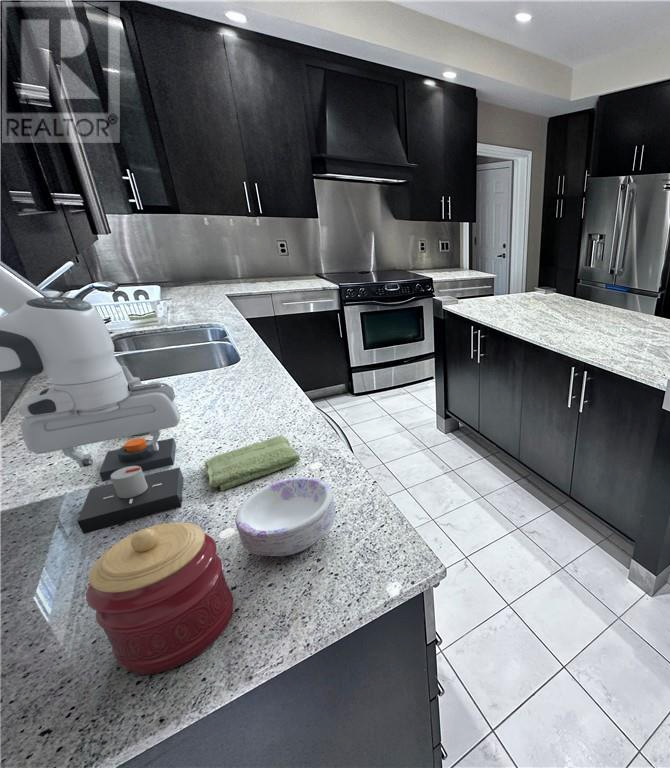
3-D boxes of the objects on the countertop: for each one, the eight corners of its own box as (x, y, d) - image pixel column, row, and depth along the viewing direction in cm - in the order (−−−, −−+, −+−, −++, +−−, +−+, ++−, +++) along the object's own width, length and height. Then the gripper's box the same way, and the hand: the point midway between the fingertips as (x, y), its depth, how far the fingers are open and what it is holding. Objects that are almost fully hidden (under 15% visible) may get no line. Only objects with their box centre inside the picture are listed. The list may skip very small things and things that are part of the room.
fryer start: (125, 454, 90) (122, 447, 89) (127, 447, 92) (125, 440, 92) (146, 450, 92) (144, 443, 91) (148, 443, 94) (146, 436, 94)
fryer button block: (102, 481, 86) (96, 465, 85) (110, 459, 94) (104, 444, 92) (173, 464, 93) (168, 449, 91) (176, 445, 100) (171, 431, 99)
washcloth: (202, 467, 92) (199, 455, 91) (286, 442, 103) (284, 431, 102) (212, 495, 83) (208, 483, 82) (303, 465, 95) (301, 453, 93)
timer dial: (116, 501, 76) (107, 480, 75) (120, 489, 80) (111, 468, 78) (146, 493, 79) (139, 473, 77) (149, 481, 82) (141, 462, 80)
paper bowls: (231, 578, 65) (219, 540, 62) (259, 515, 79) (250, 481, 76) (332, 561, 69) (326, 524, 66) (342, 504, 83) (337, 471, 80)
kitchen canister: (235, 644, 55) (203, 546, 49) (108, 699, 49) (49, 593, 42) (234, 577, 65) (207, 487, 59) (128, 615, 59) (84, 518, 52)
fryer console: (83, 534, 72) (76, 520, 71) (95, 500, 81) (89, 487, 79) (181, 506, 80) (176, 493, 79) (183, 478, 88) (179, 466, 87)
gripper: (171, 374, 79) (190, 435, 84) (16, 396, 68) (50, 465, 73) (168, 384, 74) (189, 449, 80) (2, 410, 63) (39, 483, 69)
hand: (121, 457), depth 76 cm, fingers open, 8 cm apart
